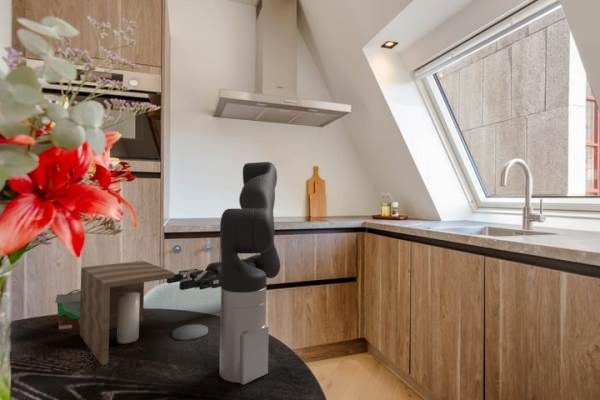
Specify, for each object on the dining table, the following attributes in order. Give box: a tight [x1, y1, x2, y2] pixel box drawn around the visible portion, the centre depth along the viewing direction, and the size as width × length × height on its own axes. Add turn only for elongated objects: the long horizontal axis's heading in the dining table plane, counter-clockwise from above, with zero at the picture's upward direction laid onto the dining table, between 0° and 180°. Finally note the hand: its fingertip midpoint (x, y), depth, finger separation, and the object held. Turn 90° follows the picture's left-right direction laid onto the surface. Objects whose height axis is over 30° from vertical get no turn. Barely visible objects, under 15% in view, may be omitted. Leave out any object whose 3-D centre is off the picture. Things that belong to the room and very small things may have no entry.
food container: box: [54, 288, 81, 333], centre depth 87 cm, size 12×6×10 cm, turn 179°
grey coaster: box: [171, 324, 209, 341], centre depth 83 cm, size 9×9×1 cm
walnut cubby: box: [79, 260, 175, 366], centre depth 79 cm, size 21×15×17 cm
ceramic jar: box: [116, 292, 140, 344], centre depth 79 cm, size 5×5×11 cm
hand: (173, 282), depth 87 cm, fingers open, 8 cm apart
